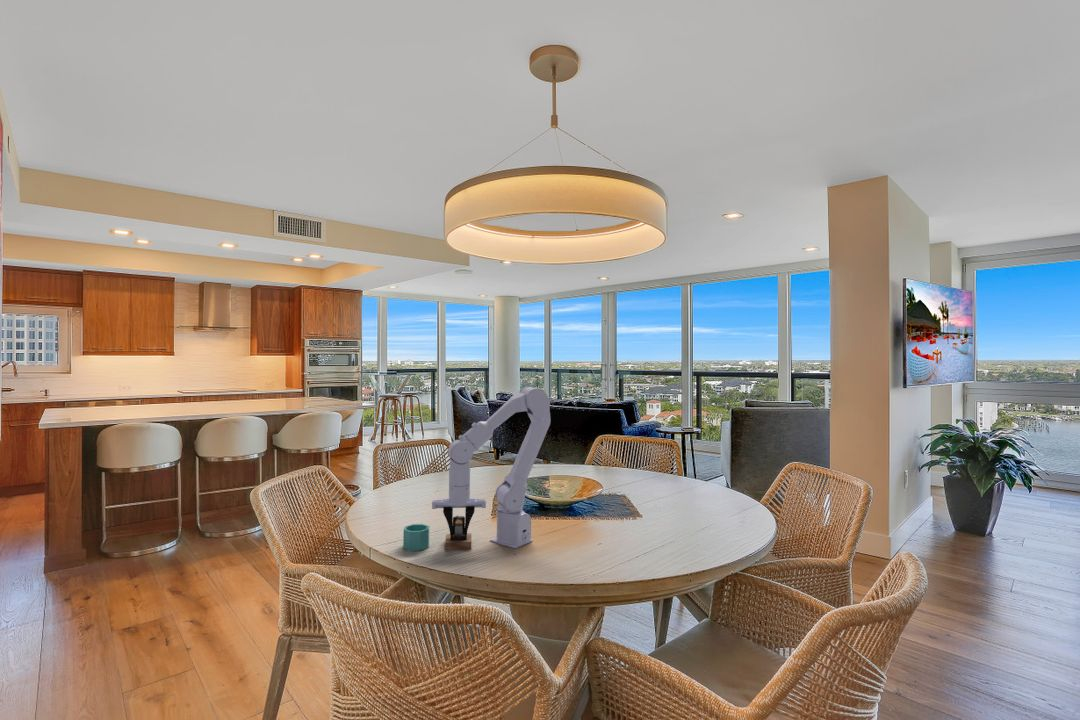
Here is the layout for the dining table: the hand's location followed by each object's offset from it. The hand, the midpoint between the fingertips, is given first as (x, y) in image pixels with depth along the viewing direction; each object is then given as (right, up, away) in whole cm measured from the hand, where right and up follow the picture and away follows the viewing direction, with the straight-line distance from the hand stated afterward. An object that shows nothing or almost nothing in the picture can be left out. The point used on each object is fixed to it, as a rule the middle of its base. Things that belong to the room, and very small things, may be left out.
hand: (458, 534), depth 147 cm
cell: (0, -3, 0) cm, 3 cm away
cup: (-11, -3, -1) cm, 12 cm away
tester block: (0, -3, 0) cm, 3 cm away
